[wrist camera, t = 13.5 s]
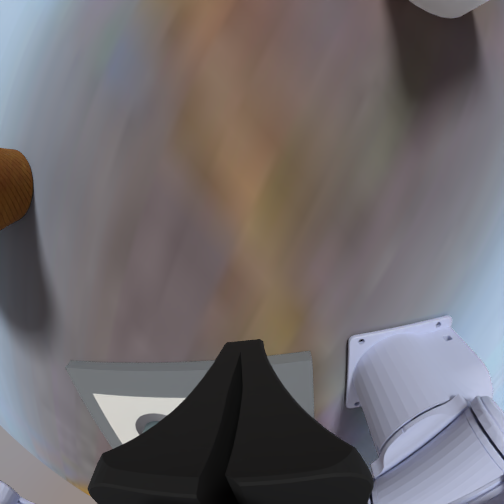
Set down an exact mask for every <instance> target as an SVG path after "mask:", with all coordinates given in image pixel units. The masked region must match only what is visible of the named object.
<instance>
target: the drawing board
mask: <svg viewBox="0 0 504 504" xmlns="http://www.w3.org/2000/svg"><path fill="white" fill-rule="evenodd" d="M267 358H268V360H269V362H270V364H271V366H272V368H273V369H274V371H275V373H276V375H277V376H278V378H279V379H280V381H281V382H282V384H283V385H284V387H285V388H286V389H287V391H288V392H289V393H290V395H291V396H292V397H293V398H294V399H295V400H296V402H297V403H298V404H299V405H300V406H301V407H302V408H303V409H304V410H305V411H306V412H307V413H308V414H309V415H310V416H311V417H313V418H314V395H313V368H312V357H311V353H310V351H305V352H298V353H290V354H281V355H273V356H267ZM214 361H215V360H214ZM214 361H195V362H166V363H115V362H87V361H70V362H69V364H68V365H67V366H66V367H65V368H66V370H67V372H68V374H69V376H70V378H71V380H72V382H73V384H74V386H75V388H76V389H77V391H78V393H79V395H80V397H81V398H82V400H83V402H84V404H85V406H86V407H87V409H88V411H89V412H90V414H91V416H92V417H93V419H94V421H95V422H96V424H97V425H98V427H99V429H100V430H101V432H102V433H103V435H104V436H105V438H106V439H107V441H108V442H109V444H110V445H111V447H112V448H113V449H114V448H116V447H118V446H120V445H122V444H124V443H126V442H128V441H130V440H132V439H134V438H135V437H137V436H139V435H140V434H142V432H143V430H144V427H145V425H146V424H147V423H149V422H152V421H161V420H162V419H163V418H164V417H166V416H167V415H168V414H170V413H171V412H172V411H173V410H174V409H175V408H176V407H177V406H178V405H179V404H180V403H182V401H183V400H184V399H185V398H186V397H187V396H188V395H189V394H190V393H191V392H192V391H193V389H194V388H195V387H196V386H197V384H198V383H199V382H200V381H201V380H202V378H203V377H204V376H205V374H206V373H207V371H208V370H209V369H210V367H211V366H212V364H213V363H214Z"/></svg>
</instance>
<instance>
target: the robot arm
mask: <svg viewBox="0 0 504 504" xmlns="http://www.w3.org/2000/svg"><path fill="white" fill-rule="evenodd" d="M438 322H439V323H438ZM437 323H438V325H436V324H437ZM451 325H452V318H451V317H450V316H449V315H447V316H443V317H439V318H435V319H431V320H426V321H422V322H418V323H413V324H409V325H404V326H400V327H395V328H390V329H385V330H380V331H375V332H370V333H364V334H359V335H354V336H352V337H350V338H349V341H348V367H347V389H346V407H347V408H355V407H360V406H361V407H362V409H363V412H364V415H365V418H366V421H367V424H368V427H369V430H370V433H371V436H372V439H373V442H374V445H375V448H376V451H377V454H378V457H379V458H378V459H377V460H376V461H374V462H373V463H372V464H371V469H372V472H373V476H374V478H372V475H371V473H370V471H369V469H368V467H367V465H366V463H365V462H364V460H363V458H362V457H361V455H360V454H359V453H358V451H357V450H356V448H355V447H353V446H351V445H349V444H348V443H346V442H344V441H343V440H341V439H340V438H338V437H337V436H335V435H334V434H332V433H331V432H330V431H328V430H327V429H326V428H324V427H323V426H322V425H321V424H319V423H318V422H317V421H316V420H315V419H314V418H313V417H311V416H310V415H309V414H308V413H307V412H306V411H305V410H304V409H303V408H302V407H301V406H300V405H299V404H298V403H297V402H296V400H295V399H294V398H293V397H292V396H291V395H290V393H289V392H288V391H287V389H286V388H285V387H284V385H283V384H282V382H281V381H280V379H279V378H278V376H277V375H276V373H275V371H274V369H273V368H272V366H271V364H270V362H269V360H268V358H267V355H266V353H265V350H264V344H263V341H262V340H260V339H257V340H248V341H238V342H227V343H226V344H225V345H224V347H223V349H222V350H221V352H220V353H219V355H218V357H217V358H216V360H215V361H214V363H213V364H212V366H211V367H210V369H209V370H208V371H207V373H206V374H205V376H204V377H203V378H202V380H201V381H200V382H199V383H198V384H197V386H196V387H195V388H194V389H193V391H192V392H191V393H190V394H189V395H188V396H187V397H186V398H185V399H184V400H183V401H182V403H180V404H179V405H178V406H177V407H176V408H175V409H174V410H173V411H172V412H171V413H170V414H168V415H167V416H166V417H164V418H163V419H162V420H161V421H159V422H158V423H157V424H156V425H154V426H153V427H151V428H150V429H148V430H147V431H145V432H144V433H142V434H140V435H139V436H137V437H135V438H134V439H132V440H130V441H128V442H126V443H124V444H122V445H120V446H118V447H116V448H114V449H112V450H110V451H107V452H105V453H103V454H102V456H101V458H100V460H99V462H98V463H97V466H96V468H95V471H94V473H93V476H92V478H91V481H90V484H89V486H88V491H89V494H90V495H91V497H92V498H93V499H94V500H95V501H96V502H97V503H98V504H504V412H503V411H502V409H501V408H500V407H499V406H498V405H497V404H496V403H495V402H494V400H493V385H492V380H491V377H490V374H489V371H488V369H487V367H486V365H485V364H484V363H483V361H482V360H481V359H480V358H479V357H478V356H477V354H476V353H475V352H474V351H473V350H472V349H471V348H470V347H469V346H468V345H467V344H466V342H465V341H464V340H463V339H462V338H461V337H460V336H459V335H458V334H457V333H456V332H455V331H454V330H453V329H452V328H451ZM360 339H363V341H361V342H359V340H360ZM356 402H357V403H356ZM0 504H35V503H32V502H31V501H28V500H26V499H24V498H22V497H20V496H19V494H18V493H17V492H15V490H13V489H12V488H11V487H10V486H9V485H7V484H6V483H4V482H3V481H1V480H0Z"/></svg>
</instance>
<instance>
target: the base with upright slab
mask: <svg viewBox="0 0 504 504" xmlns="http://www.w3.org/2000/svg"><path fill="white" fill-rule="evenodd" d="M409 1H410V2H412V3H413V4H414V5H416V6H418V7H420V8H421V9H423V10H425V11H427V12H428V13H431V14H434V15H437V16H439V17H444V18H451V19H452V18H458V17H461V16H463V15H464V14H466V13H468V12H469V11H471V10H473V9H475V8H476V7H478V6H480V5H482V4H484V3H485V2H487V1H489V0H409Z"/></svg>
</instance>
